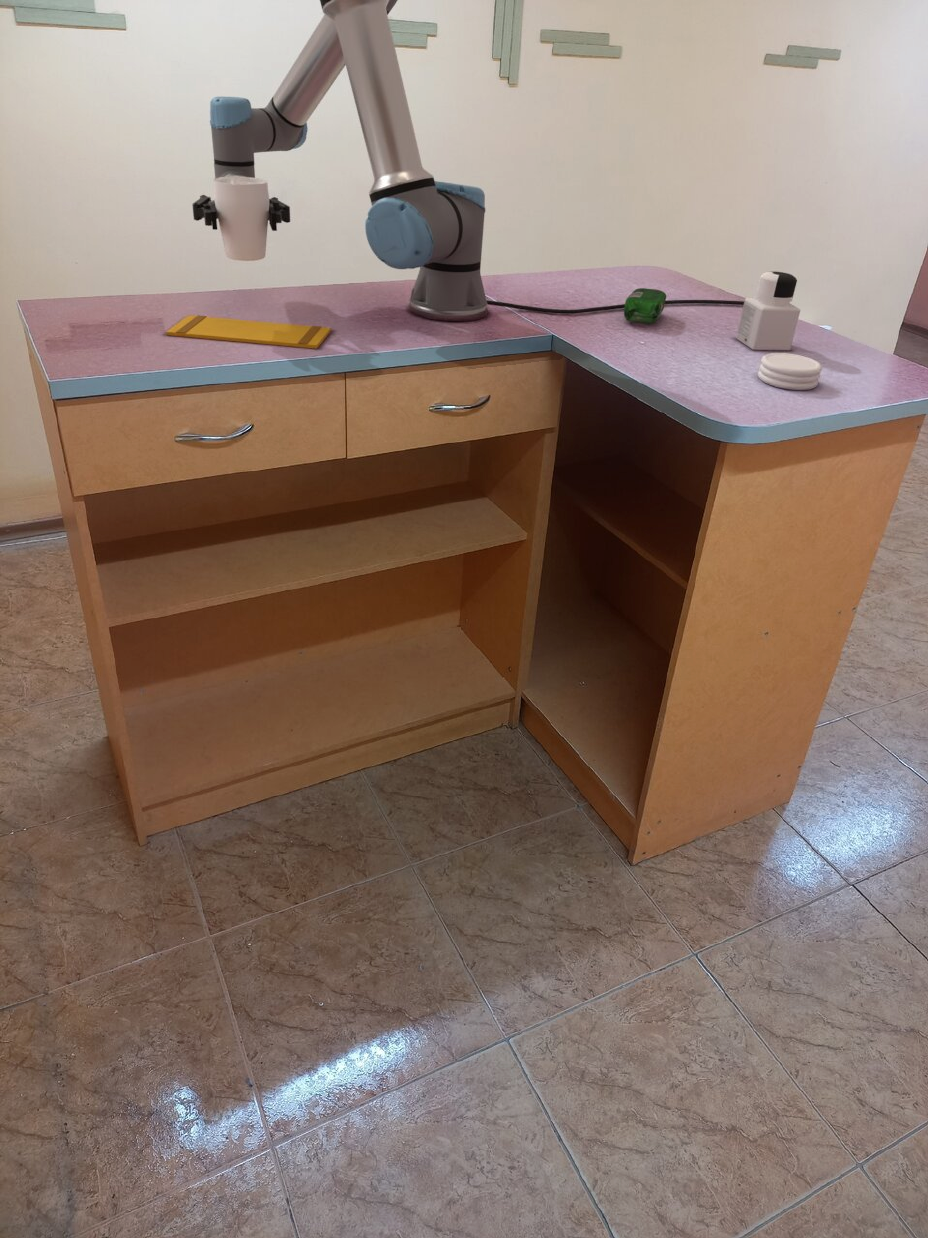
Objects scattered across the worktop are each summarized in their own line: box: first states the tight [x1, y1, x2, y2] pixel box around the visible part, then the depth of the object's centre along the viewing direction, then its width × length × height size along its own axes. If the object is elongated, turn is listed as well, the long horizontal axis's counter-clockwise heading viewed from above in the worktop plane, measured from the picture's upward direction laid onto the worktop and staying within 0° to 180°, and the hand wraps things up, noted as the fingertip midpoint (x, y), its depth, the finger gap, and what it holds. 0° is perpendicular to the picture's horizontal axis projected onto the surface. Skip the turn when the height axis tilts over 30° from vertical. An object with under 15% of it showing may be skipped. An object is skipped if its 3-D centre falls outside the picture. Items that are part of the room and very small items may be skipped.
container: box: [736, 271, 801, 351], centre depth 168 cm, size 8×8×13 cm
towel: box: [165, 314, 332, 350], centre depth 156 cm, size 26×11×1 cm, turn 85°
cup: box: [213, 177, 270, 262], centre depth 152 cm, size 9×9×12 cm
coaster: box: [757, 352, 823, 391], centre depth 152 cm, size 10×10×4 cm
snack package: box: [623, 287, 667, 325], centre depth 180 cm, size 7×16×5 cm, turn 161°
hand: (244, 221), depth 148 cm, fingers closed on cup, 9 cm apart
